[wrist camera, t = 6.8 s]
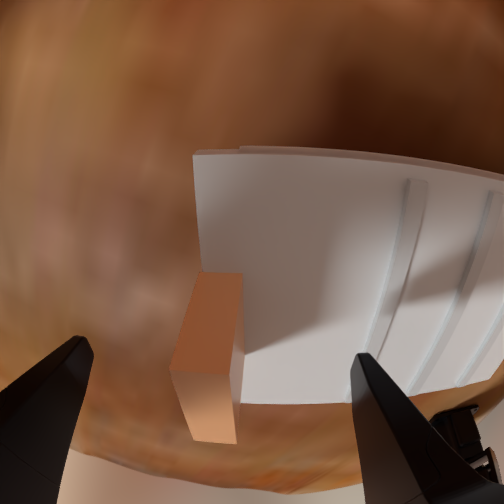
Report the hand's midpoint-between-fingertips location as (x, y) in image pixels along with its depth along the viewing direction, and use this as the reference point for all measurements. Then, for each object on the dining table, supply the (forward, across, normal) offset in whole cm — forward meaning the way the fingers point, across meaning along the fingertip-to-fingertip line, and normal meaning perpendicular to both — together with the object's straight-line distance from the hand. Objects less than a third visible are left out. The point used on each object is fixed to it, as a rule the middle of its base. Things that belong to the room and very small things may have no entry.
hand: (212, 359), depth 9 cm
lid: (+3, -7, 0) cm, 8 cm away
